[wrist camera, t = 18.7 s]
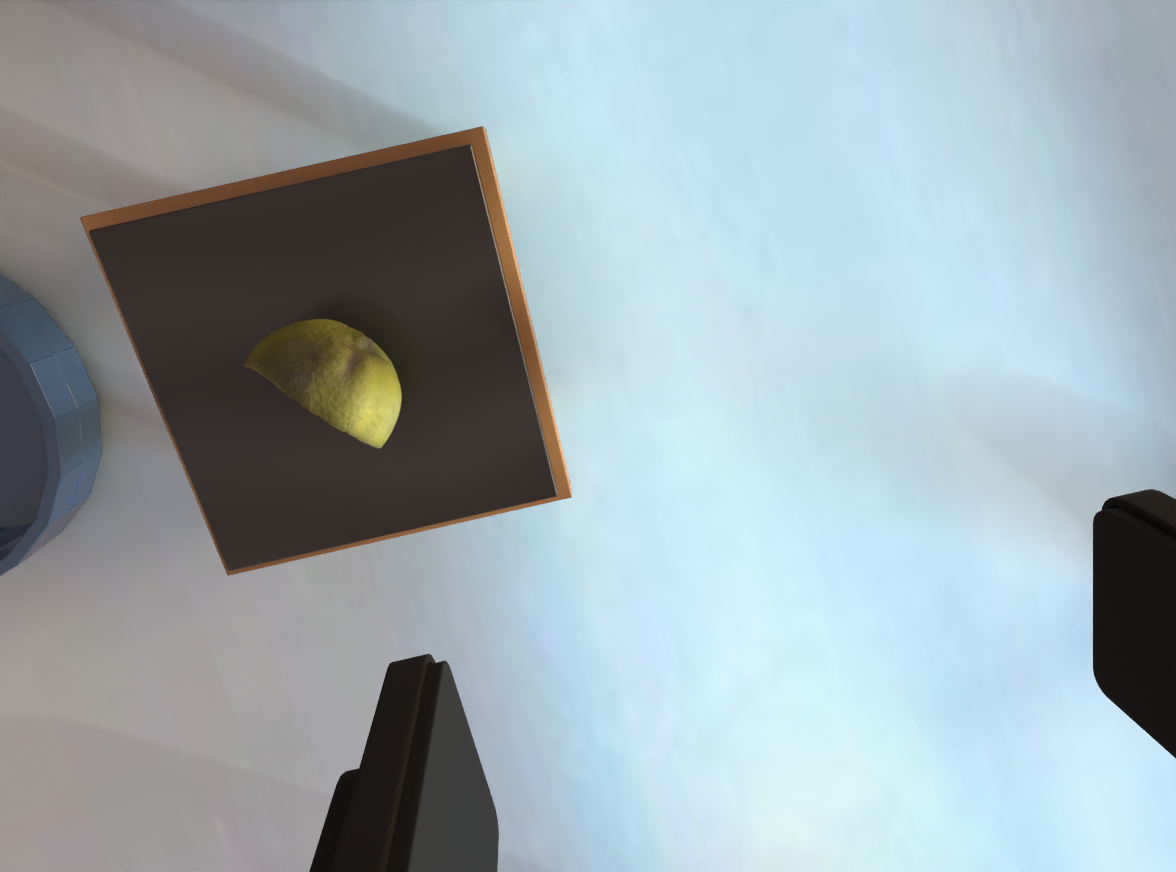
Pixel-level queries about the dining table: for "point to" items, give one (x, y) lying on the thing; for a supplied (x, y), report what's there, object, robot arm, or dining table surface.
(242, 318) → the stool
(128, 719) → the dining table surface
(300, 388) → the lime
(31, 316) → the bowl
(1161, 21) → the dining table surface
